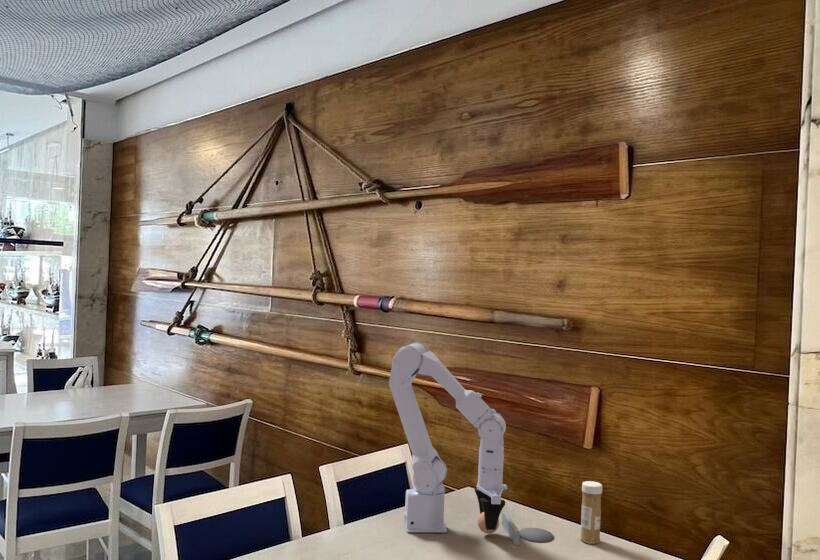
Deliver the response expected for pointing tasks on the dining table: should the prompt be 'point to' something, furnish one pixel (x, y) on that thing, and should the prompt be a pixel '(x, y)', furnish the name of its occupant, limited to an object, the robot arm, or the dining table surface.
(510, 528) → the acrylic wall
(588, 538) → the spice jar
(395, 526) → the dining table surface
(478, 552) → the dining table surface
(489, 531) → the terracotta ball
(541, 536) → the pad
